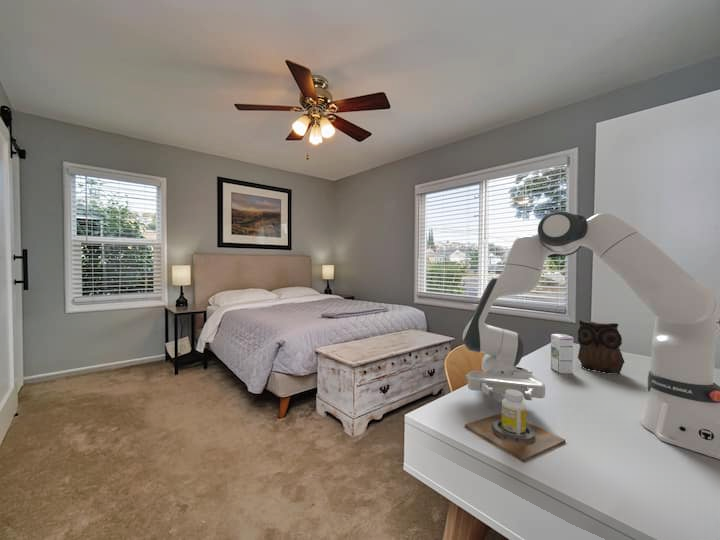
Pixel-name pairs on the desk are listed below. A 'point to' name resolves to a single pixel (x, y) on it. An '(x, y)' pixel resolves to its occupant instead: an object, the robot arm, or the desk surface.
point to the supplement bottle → (514, 413)
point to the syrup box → (562, 353)
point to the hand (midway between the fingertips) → (509, 394)
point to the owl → (600, 346)
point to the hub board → (515, 438)
